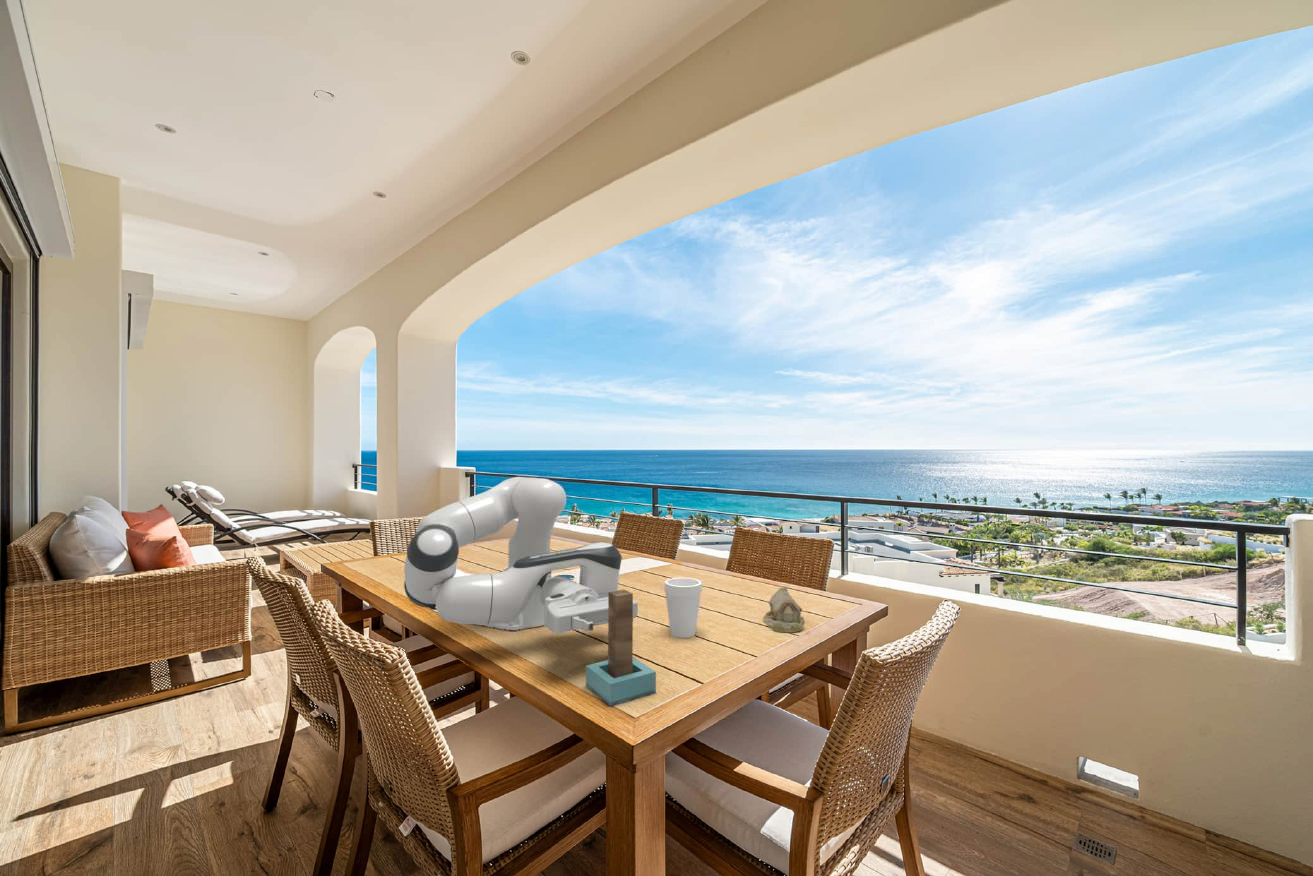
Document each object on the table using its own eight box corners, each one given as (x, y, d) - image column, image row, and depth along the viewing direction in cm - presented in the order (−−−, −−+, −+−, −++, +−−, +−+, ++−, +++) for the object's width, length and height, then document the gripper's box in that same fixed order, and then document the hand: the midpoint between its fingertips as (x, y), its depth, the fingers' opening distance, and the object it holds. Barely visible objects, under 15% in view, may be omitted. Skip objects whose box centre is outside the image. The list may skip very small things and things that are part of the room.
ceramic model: (760, 616, 151) (760, 580, 151) (800, 616, 150) (800, 581, 151) (768, 633, 137) (768, 594, 137) (812, 634, 136) (812, 594, 137)
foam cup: (687, 642, 130) (687, 589, 130) (657, 634, 135) (657, 583, 135) (708, 632, 137) (708, 581, 137) (678, 624, 143) (678, 576, 143)
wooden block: (608, 684, 105) (608, 592, 105) (623, 679, 107) (623, 589, 107) (616, 690, 102) (617, 596, 102) (632, 686, 104) (632, 593, 104)
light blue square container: (586, 685, 106) (586, 665, 106) (629, 674, 112) (629, 654, 112) (610, 706, 98) (610, 684, 98) (655, 692, 103) (655, 671, 103)
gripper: (619, 613, 126) (652, 629, 115) (537, 628, 115) (565, 648, 103) (620, 586, 126) (653, 599, 115) (538, 599, 115) (565, 615, 103)
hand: (610, 623), depth 109 cm, fingers open, 8 cm apart
